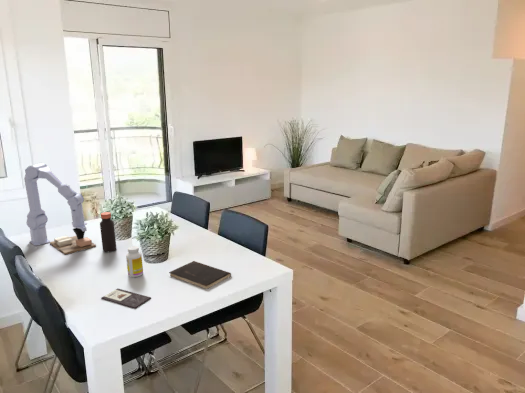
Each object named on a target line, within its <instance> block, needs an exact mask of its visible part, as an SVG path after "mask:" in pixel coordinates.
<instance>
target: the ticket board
mask: <svg viewBox="0 0 525 393" xmlns="http://www.w3.org/2000/svg"><path fill="white" fill-rule="evenodd" d="M77 239H78V238H77V236H76V235H73V236H68V235H63V236H59V237H55V238H54V239H53V240H52V241H50V242H49V245H51V246H52V247H54V248H55V249H56V250H58V251H59V252H61V253H62V254H63V255H66V254H67V255H70V254H74V253H77V251H78V252H81V251H85V250H89V249H91V248H95V247H97V245H96V243H94V242H92V244H91V245H87V246H83V247H80V246H78V245H77V244H76V240H77Z"/></svg>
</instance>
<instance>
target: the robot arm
mask: <svg viewBox="0 0 525 393" xmlns="http://www.w3.org/2000/svg"><path fill="white" fill-rule="evenodd" d="M24 172H25V175H24V179H23V180H24V184H25V190H26V196H27V202H28V208H29V212H28V213H27V215H26V225H27V227H28V228H29V233H30V240H29V243H30V244H32V245H33V246H35V247H37V246H40V245H44V244H48V243H49V244H50V242H51V240H49V239H48V234H47V228H46V225H47V222H48V215H46V211H45V210H44V209H42V205H41V200H40V194H39V189H38V188H39V187H38V182H37V181H38V180H39V179H45V180H46V181H48V182H49V183H50V184H52V185H53V187H55V188H56V189H57V192H58V193H59V195H61V196H62V197H63V198H64V199H65V200H67V204H68V206H69V208H70V214H71V221H72V222H71V225H72V227H73V228H72V231H73V233H75V236H77V238H78V239H81V238H85V234H86V232H87V227H86V225H87V224H88V223H87V222H85V217H84V216H85V215H84V209H83V208H84V207H83V202H84V201H85V198H84V196H83V195H82V193H79V192H77V191H75V190H73V188H72V187H71V185H69V184H67V183H63V182H62V181H61V180H60V179H59V177H57V176H56V174H54V173H53V172H52V171H51V168H50V167H49V166H48V165H47V164H46V163H45V162H39V163H35V164H33V165H29V166H27V167H26V168H25V169H24Z"/></svg>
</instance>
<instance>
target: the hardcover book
mask: <svg viewBox="0 0 525 393" xmlns="http://www.w3.org/2000/svg"><path fill="white" fill-rule="evenodd" d="M168 273H169V274H170V276H171V277H173V278H176V279H178V280H182V281H185V282H187V283H189V284H192V285H194V286H198V287H200V288H203V289H205V290H207V289H209V288H211V287H213V286H215V285H216V284H218V283H220V282H222V281H224V280H227V279H228V278H230V277H232V273H231V272H229V271H226V270H223V269H220V268H217V267H214V266H210V265H207V264H204V263H201V262H198V261H195V260H193V261H191V262H188V263H187V264H186V263H185V264H184V265H182V266H180V267H178V268H176V269H173V270H171V271H170V272H168Z"/></svg>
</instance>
